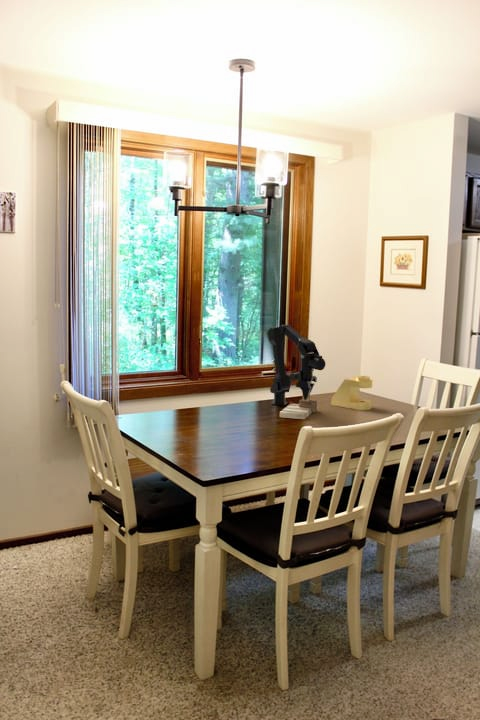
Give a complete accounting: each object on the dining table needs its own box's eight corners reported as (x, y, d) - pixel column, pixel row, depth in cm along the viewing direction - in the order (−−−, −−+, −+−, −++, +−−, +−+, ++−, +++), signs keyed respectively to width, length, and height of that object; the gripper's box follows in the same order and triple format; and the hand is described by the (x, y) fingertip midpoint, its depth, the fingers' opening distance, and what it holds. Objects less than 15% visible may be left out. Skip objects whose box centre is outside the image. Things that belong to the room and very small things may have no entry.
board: (290, 408, 333) (291, 403, 332) (314, 410, 329) (314, 405, 328) (279, 417, 314) (279, 411, 314) (304, 419, 310) (304, 414, 310)
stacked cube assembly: (300, 409, 328) (301, 389, 327) (316, 410, 326) (317, 390, 324) (298, 411, 324) (298, 391, 322) (314, 412, 321) (314, 392, 319)
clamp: (374, 408, 335) (375, 376, 333) (365, 411, 328) (366, 379, 326) (341, 402, 348) (342, 372, 346) (331, 405, 341) (332, 374, 339)
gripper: (295, 363, 333) (295, 394, 335) (285, 369, 316) (285, 401, 318) (317, 364, 329) (316, 395, 332) (308, 370, 312) (307, 403, 314)
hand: (306, 398), depth 324 cm, fingers closed on stacked cube assembly, 3 cm apart
